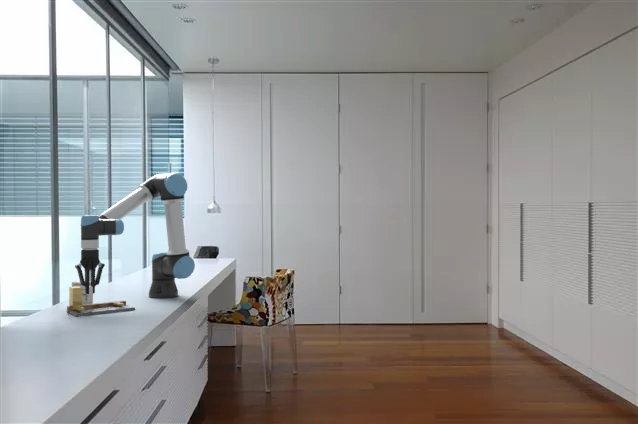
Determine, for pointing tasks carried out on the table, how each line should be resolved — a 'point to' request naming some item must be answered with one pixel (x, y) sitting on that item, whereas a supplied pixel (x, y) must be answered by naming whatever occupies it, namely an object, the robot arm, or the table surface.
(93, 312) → the gray rectangular panel
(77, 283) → the ink box
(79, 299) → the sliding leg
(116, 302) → the beam
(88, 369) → the table surface
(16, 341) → the table surface
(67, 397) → the table surface
